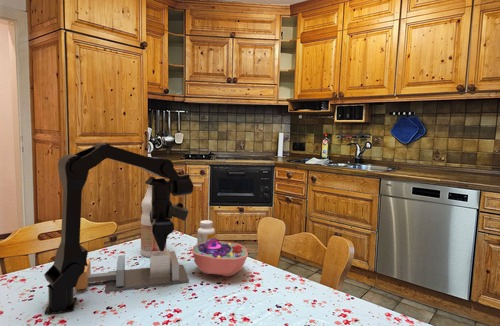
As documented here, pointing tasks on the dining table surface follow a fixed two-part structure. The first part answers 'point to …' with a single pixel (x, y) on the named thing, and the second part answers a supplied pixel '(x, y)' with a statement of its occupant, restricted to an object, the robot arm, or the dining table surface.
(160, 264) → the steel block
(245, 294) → the dining table surface
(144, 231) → the fruit juice
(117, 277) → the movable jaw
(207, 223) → the supplement bottle
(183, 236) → the dining table surface
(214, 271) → the cell model
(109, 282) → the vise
